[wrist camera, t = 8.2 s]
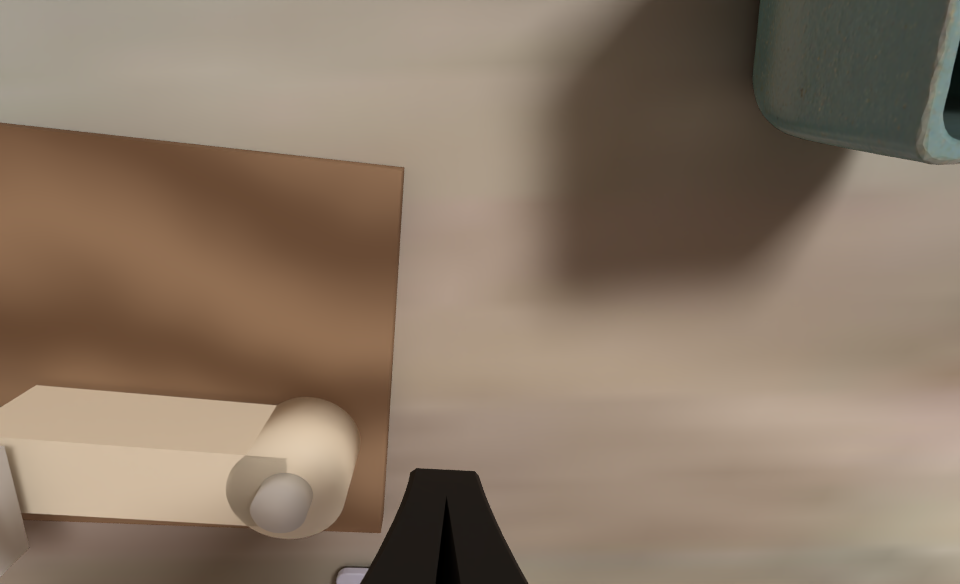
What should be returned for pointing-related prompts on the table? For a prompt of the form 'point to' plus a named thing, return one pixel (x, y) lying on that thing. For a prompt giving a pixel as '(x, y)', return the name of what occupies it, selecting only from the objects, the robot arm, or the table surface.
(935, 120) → the flower pot
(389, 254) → the hinge board
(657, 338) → the table surface
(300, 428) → the link
